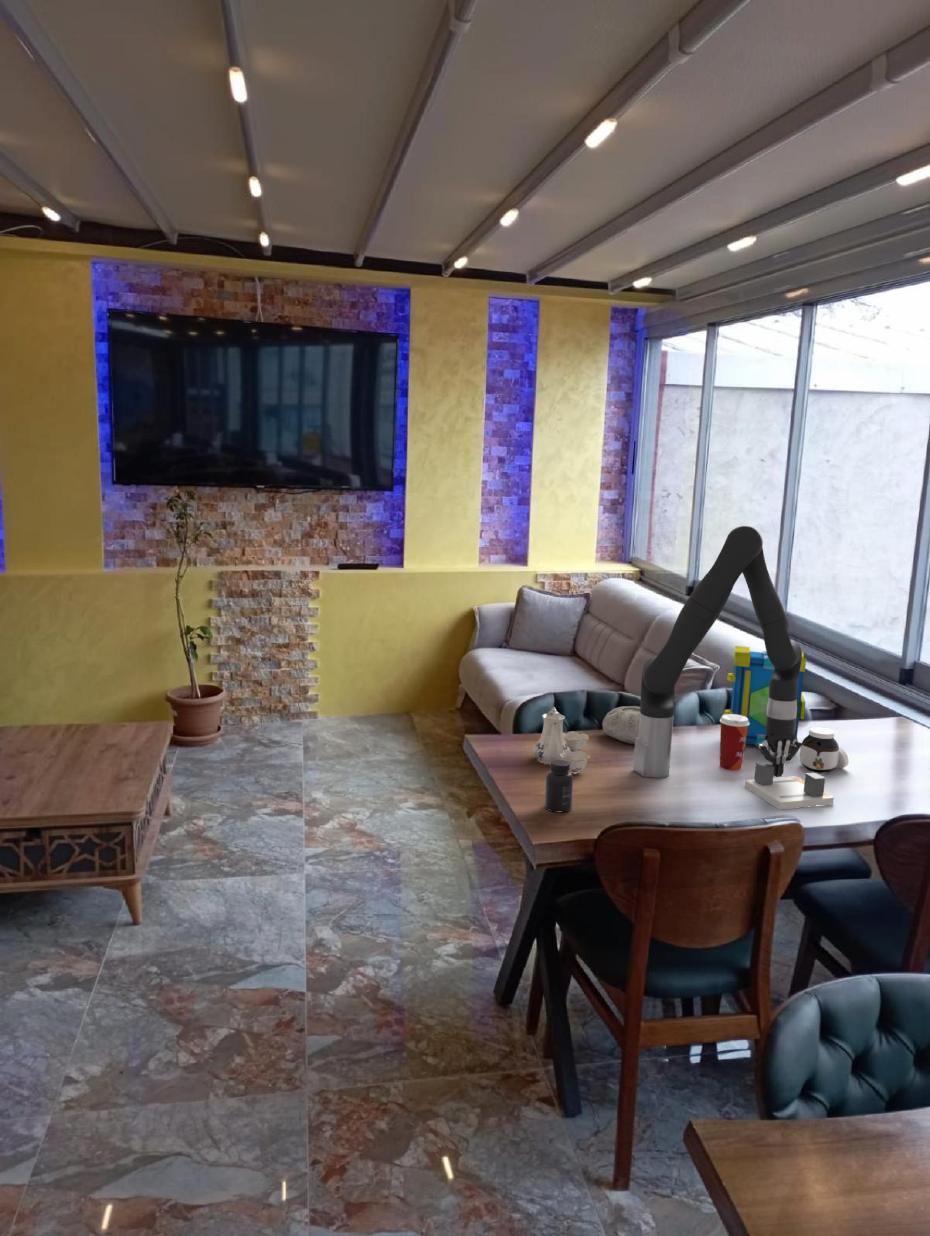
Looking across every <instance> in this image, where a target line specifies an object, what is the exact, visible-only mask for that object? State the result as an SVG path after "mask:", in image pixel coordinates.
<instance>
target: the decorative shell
mask: <svg viewBox="0 0 930 1236" xmlns="http://www.w3.org/2000/svg"><path fill="white" fill-rule="evenodd" d="M639 721H640V706H636V705H633V706H632V705H631V706H619V707H615V708H613V709H611V710H610V711H608V712H607V714H605V716H604V718H603V720H602V724H601V725H602V730H603V732H604V733H605V734H606V735H607V736H609V737H611V738H612V739H616V740H618V741H620V742H623V743H627V744H631V745H632V744H633V745H635V738H638V734H639Z"/></svg>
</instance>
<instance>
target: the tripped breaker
mask: <svg viewBox="0 0 930 1236" xmlns="http://www.w3.org/2000/svg"><path fill="white" fill-rule="evenodd" d="M754 769H755V771H754V777H753V779H754V780H755V781H757V782H758V783H760V784H761V785H773V778H774V776H773V775H774V766H772V764H770V763H769V762H767V761H760V762H758V761H756V762H755V768H754Z"/></svg>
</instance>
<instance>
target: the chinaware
mask: <svg viewBox="0 0 930 1236" xmlns="http://www.w3.org/2000/svg"><path fill="white" fill-rule="evenodd" d="M541 716H542V720H543V727H542V732H541V735H540V737H539V740H538V741H537V742H536V743H535V745H534V746H533V749H532V753H533V755H534V756H535V758H536V759H537V758H538V759H539V760H540V761H543V762H546V763H550V762H551V761H553V760H565V761H568V762H569V763H570V767H569V768H570V770H569V772H570V773H571V772H579V773H580V772H581V771H583V769H584V768H585V767H586V766H587V763H588V760H589V759H590V758H591V754H588V753H585V751H583V749H584V748H585V746H586V744H587V741H589V740H590V737H589V735H588V734H587V733H583V732H581V733H578V732H576V731H573V730H572V731H568V732H567V733H565V732H564V729H563V724H564V719H565V717H566V716H565V715H563V714H561V713H560V712H558V711H557V709H556V707H555V706H553V707H552V708H551V710H550V711H548V712H547V713H544V714H542V715H541Z"/></svg>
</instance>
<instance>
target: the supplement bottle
mask: <svg viewBox="0 0 930 1236" xmlns="http://www.w3.org/2000/svg"><path fill="white" fill-rule="evenodd" d="M569 767H570V763H569V762H568V761H565V760H553V761H551V762H550V765H549V770H550V771H548V772H547V773H546V775H545V790H544V791H545V792H544V793H545V794H544V796H545V797H544V807H545V809H546V808H547V809H546V810H548V809H550V810H552V811H567V812H569V811H570V809H572V808H573V790H574V788H573V787H574V776H573V774H571V773H570V772H569V770H570V768H569ZM568 810H569V811H568ZM552 811H551V812H552Z"/></svg>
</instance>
